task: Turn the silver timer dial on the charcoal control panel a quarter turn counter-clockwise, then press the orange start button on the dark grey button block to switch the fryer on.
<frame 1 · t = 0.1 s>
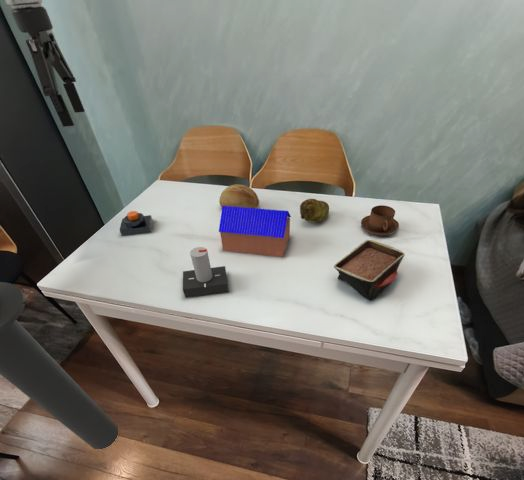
hand: (74, 118, 87), 31 cm above the table, tool pointing down, fingers open, 13 cm apart
bread roll: (239, 208, 114), on the table
start button: (133, 216, 104), point 4 cm above the table, slide at 0.1 cm
baking dish: (364, 281, 85), on the table
cup and saucer: (378, 229, 101), on the table
button block: (137, 228, 108), on the table
timer panel: (206, 285, 86), on the table
house: (256, 244, 99), on the table
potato: (314, 221, 106), on the table
timer dial: (201, 264, 81), point 7 cm above the table, hinge at 0.0°
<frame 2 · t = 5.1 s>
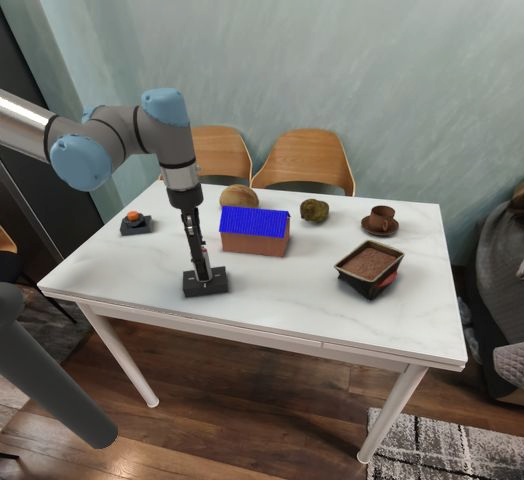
hand: (203, 273, 83), 4 cm above the table, tool pointing down, fingers closed on timer dial, 4 cm apart
timer dial: (201, 264, 81), point 7 cm above the table, hinge at 0.0°, touching gripper
everything else where it was.
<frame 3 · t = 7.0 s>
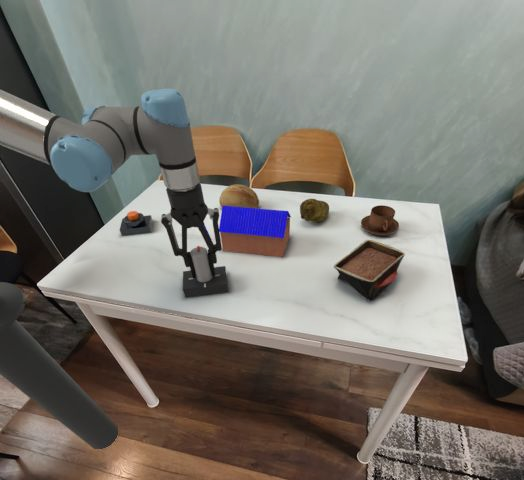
hand: (203, 274, 83), 4 cm above the table, tool pointing down, fingers open, 5 cm apart
timer dial: (201, 264, 81), point 7 cm above the table, hinge at 89.9°
everything else where it was.
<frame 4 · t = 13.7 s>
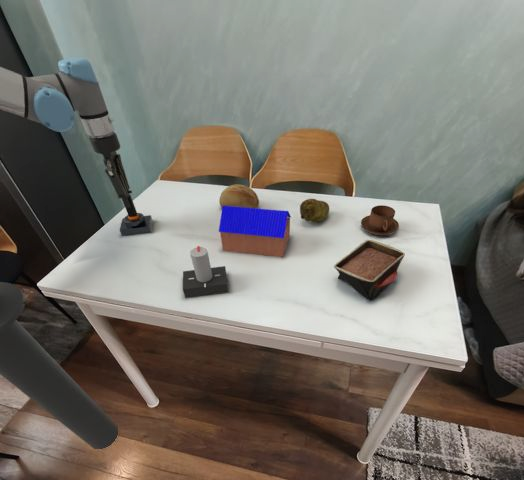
hand: (133, 215, 104), 5 cm above the table, tool pointing down, fingers closed
start button: (134, 218, 105), point 4 cm above the table, slide at -0.7 cm, touching gripper
everything else where it was.
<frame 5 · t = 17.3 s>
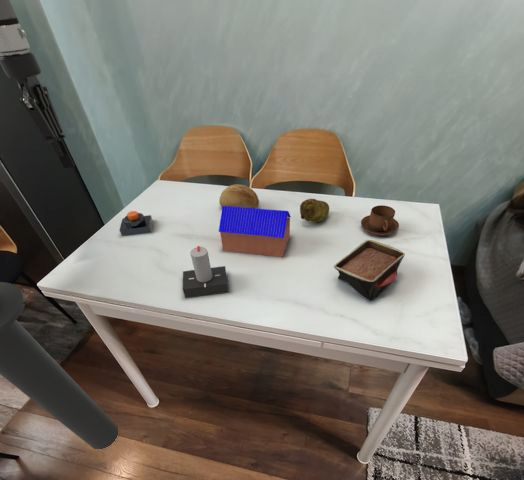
hand: (69, 166, 87), 22 cm above the table, tool pointing down, fingers closed
start button: (133, 216, 104), point 4 cm above the table, slide at 0.1 cm
everything else where it was.
at the end: timer dial at +90° (first picture: +0°); start button pushed in 1.0 cm at the most during the clip, back to where it started at the end; start button slide at 0.1 cm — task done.
